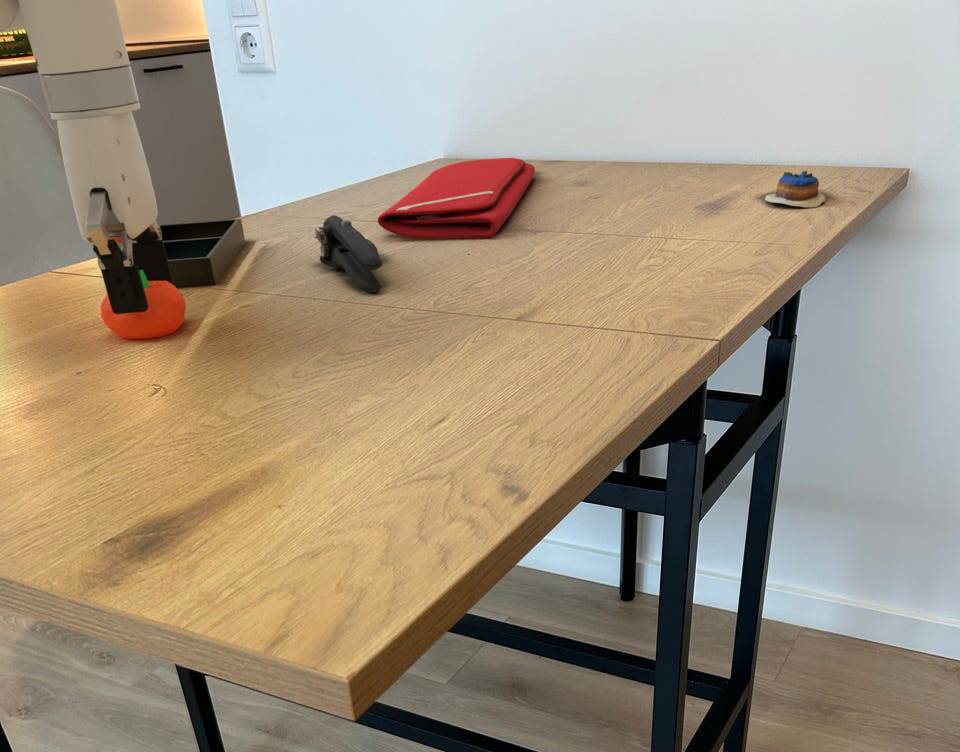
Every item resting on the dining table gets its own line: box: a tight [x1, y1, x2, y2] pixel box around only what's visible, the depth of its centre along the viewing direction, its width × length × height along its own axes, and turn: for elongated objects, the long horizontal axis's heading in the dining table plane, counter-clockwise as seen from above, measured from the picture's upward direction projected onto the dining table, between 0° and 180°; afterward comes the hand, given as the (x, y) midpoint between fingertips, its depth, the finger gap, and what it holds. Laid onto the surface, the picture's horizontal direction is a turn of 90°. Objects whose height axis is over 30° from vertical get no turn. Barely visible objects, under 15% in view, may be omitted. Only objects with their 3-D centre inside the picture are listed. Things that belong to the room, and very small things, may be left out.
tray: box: [133, 218, 246, 289], centre depth 119 cm, size 11×21×4 cm, turn 2°
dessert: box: [764, 170, 826, 208], centre depth 129 cm, size 8×7×6 cm
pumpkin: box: [100, 270, 187, 340], centre depth 96 cm, size 7×8×6 cm
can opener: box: [314, 214, 383, 293], centre depth 111 cm, size 18×7×6 cm, turn 18°
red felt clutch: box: [377, 157, 536, 239], centre depth 140 cm, size 16×41×4 cm, turn 171°
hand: (144, 297), depth 95 cm, fingers open, 9 cm apart
